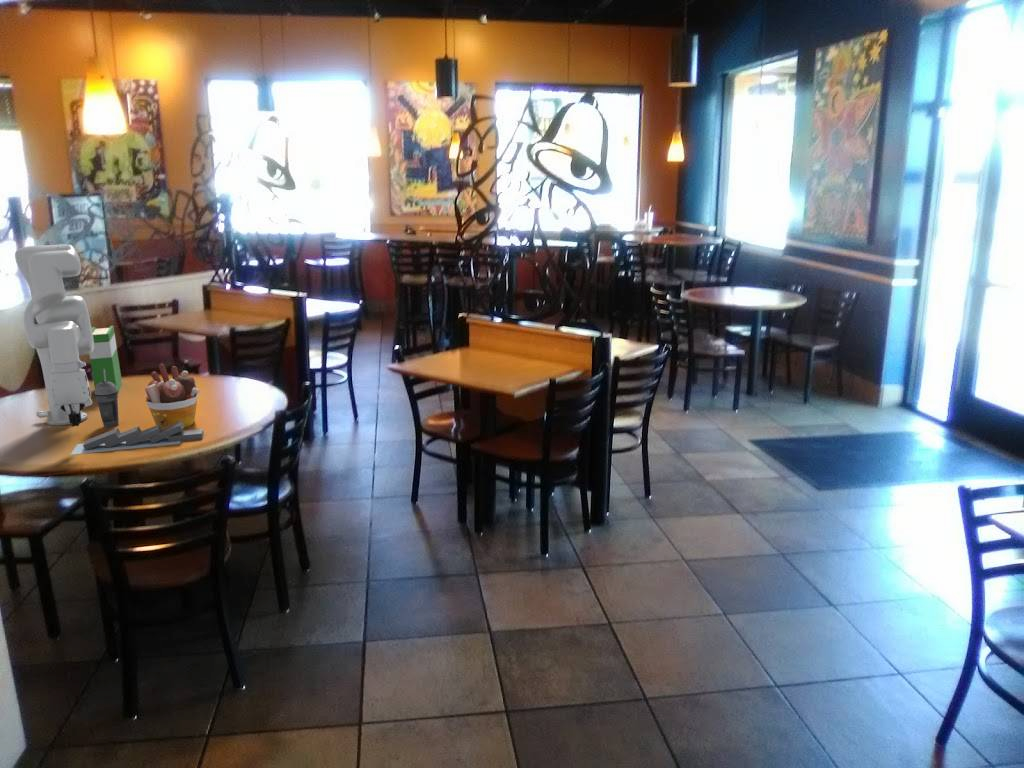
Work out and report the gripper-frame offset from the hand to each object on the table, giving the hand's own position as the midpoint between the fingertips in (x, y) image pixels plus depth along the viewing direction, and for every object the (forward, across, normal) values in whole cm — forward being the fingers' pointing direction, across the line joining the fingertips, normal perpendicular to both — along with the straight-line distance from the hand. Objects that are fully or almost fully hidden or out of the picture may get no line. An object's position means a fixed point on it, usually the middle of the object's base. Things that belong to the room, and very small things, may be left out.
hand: (76, 425), depth 250 cm
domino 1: (+7, -2, 0) cm, 7 cm away
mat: (+8, -14, 0) cm, 16 cm away
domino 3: (+7, -14, 0) cm, 15 cm away
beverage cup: (+8, -5, -24) cm, 26 cm away
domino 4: (+7, -21, 0) cm, 22 cm away
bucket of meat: (+8, -26, -16) cm, 32 cm away
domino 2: (+7, -8, 0) cm, 10 cm away
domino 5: (+7, -26, 0) cm, 27 cm away
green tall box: (+9, +3, -74) cm, 75 cm away
